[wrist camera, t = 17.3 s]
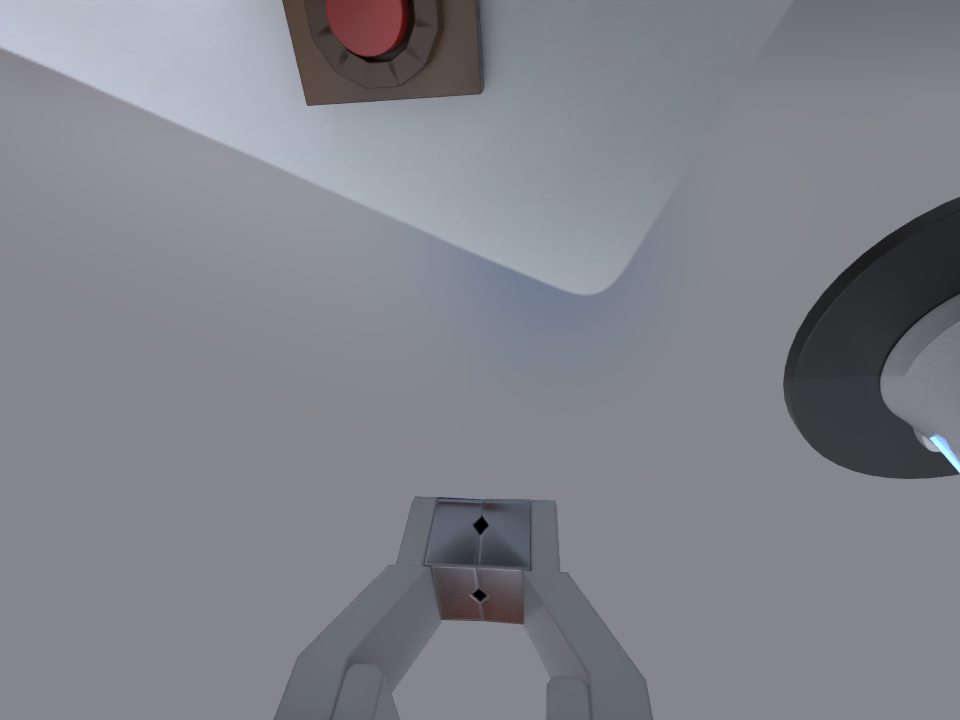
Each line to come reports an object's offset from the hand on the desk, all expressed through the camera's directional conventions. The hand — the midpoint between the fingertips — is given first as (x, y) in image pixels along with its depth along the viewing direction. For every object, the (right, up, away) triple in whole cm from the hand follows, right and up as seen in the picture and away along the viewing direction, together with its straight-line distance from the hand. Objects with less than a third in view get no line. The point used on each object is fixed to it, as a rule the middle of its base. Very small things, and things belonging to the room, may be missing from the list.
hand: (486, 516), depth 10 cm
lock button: (-5, +20, +14) cm, 25 cm away
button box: (-5, +22, +16) cm, 28 cm away
